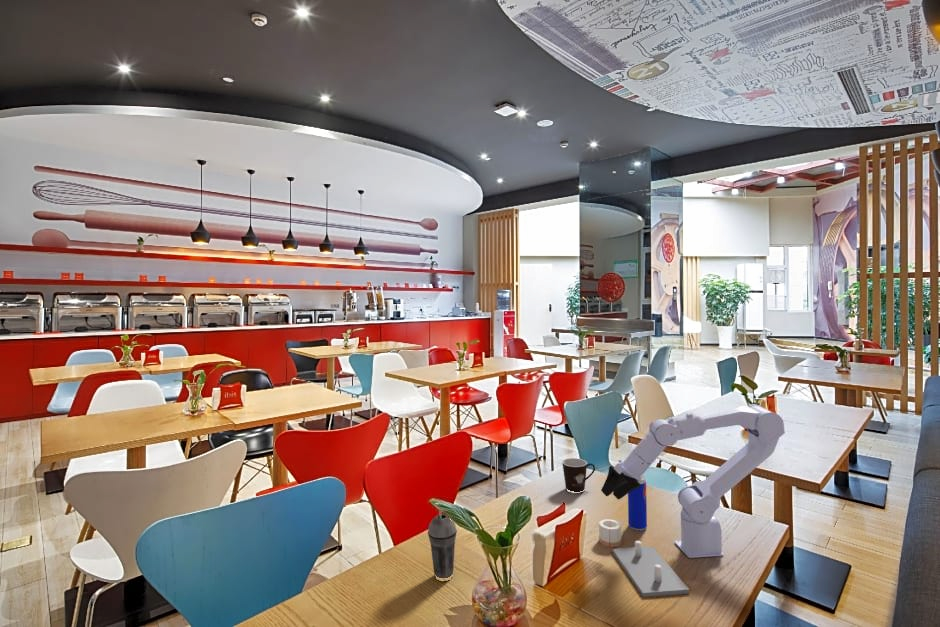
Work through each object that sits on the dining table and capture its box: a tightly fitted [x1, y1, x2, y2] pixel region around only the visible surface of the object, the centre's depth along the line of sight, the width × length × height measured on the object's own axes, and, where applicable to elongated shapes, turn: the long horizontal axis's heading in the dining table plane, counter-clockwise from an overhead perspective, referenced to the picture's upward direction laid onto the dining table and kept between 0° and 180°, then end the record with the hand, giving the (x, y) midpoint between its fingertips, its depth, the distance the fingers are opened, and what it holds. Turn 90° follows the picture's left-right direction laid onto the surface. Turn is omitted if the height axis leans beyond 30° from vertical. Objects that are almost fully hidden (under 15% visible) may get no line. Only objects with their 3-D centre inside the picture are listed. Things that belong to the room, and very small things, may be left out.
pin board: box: [611, 540, 690, 598], centre depth 118 cm, size 19×11×4 cm, turn 4°
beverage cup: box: [427, 499, 458, 578], centre depth 118 cm, size 7×7×20 cm
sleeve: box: [598, 518, 622, 548], centre depth 133 cm, size 6×6×5 cm
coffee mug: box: [561, 457, 596, 492], centre depth 168 cm, size 12×9×10 cm
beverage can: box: [627, 476, 648, 531], centre depth 141 cm, size 5×5×15 cm
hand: (609, 495), depth 130 cm, fingers open, 7 cm apart
